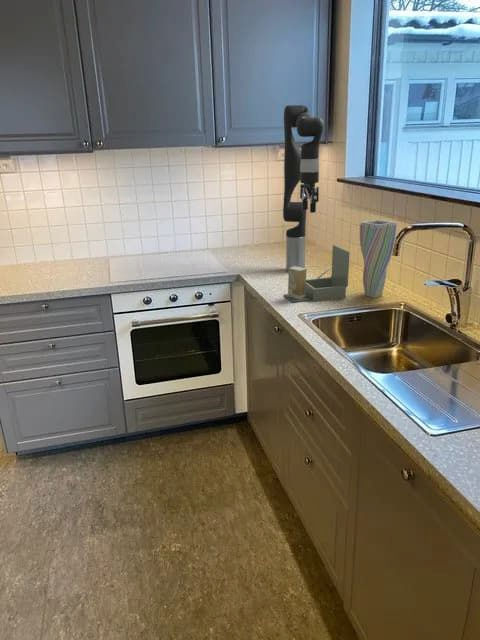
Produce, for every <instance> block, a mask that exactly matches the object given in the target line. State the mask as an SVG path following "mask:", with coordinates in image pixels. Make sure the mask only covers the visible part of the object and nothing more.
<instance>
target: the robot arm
mask: <svg viewBox="0 0 480 640" xmlns="http://www.w3.org/2000/svg"><path fill="white" fill-rule="evenodd" d="M293 128H296V131H297V135H298V136H299V137H302V138H306V137H313V139H312V140H311V141H309V142H307V143H303V144H302V145H301V147H299V145H298V144H297V142H296V140H295V138H294V135H293V131H292V129H293ZM324 129H325V123H324V120H323V118H322V117H317V116H316V117H315V116H314V117H313V116H312V115H311V113H310V109H309V108H308V106H306V105H303V104H302V105H301V104H300V105H299V104H297V105H296V104H295V105H293V104H291V105H286V106H285V107H284V111H283V131H284V155H283V156H284V160H283V164H284V165H283V170H284V171H283V172H284V173H283V176H284V179H283V180H284V181H283V183H284V192H283V207H282V217H283V221H284V222H287V223H298V224H297V225H295V226H294V227H291V228H288V229H287V230H286V232H285V233H286V234H285V237H286V238H285V240H286V241H285V243H286V244H285V247H286V248H285V250H286V251H285V253H286V255H285V257H286V259H285V266H286V267H285V270H286V272H288V273H289V268H291V267H294V266H296V267H301V268H305V269H306V224H307V223H306V221H307V220H306V219H307V211H308V209H309V213H310V214H312V213H313V214H314V213H315V214H316V210H317V203H318V202H319V201H320V199H319V198H320V197H319V196H320V193H319V192H320V191H319V190H320V188H319V186H316V184H317V183H319V179H320V178H319V177H320V160H319V157H320V155H319V154H320V153H319V152H320V143H321V139H322V136H323V133H324ZM299 183H300V188H299V190H300V191H299V199H301V201H291V199H292V197H293V196H292V195H293V193H294V192H295V189H296V187H297V186H298V184H299ZM309 202H310V203H309ZM308 207H309V208H308Z"/></svg>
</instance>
